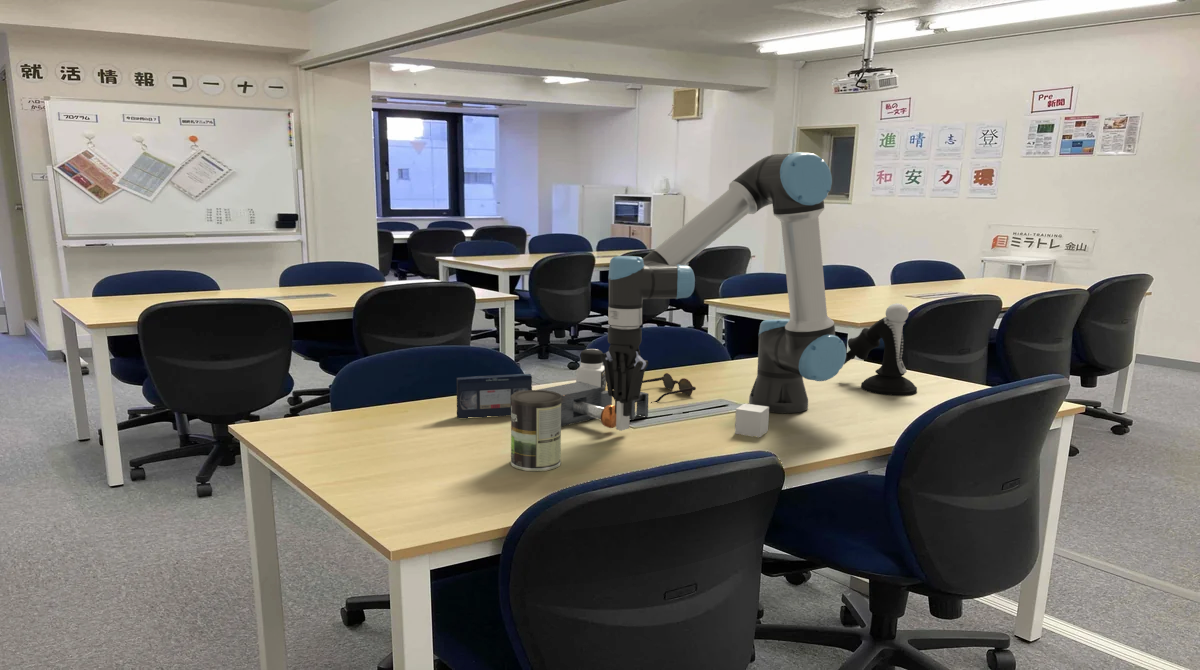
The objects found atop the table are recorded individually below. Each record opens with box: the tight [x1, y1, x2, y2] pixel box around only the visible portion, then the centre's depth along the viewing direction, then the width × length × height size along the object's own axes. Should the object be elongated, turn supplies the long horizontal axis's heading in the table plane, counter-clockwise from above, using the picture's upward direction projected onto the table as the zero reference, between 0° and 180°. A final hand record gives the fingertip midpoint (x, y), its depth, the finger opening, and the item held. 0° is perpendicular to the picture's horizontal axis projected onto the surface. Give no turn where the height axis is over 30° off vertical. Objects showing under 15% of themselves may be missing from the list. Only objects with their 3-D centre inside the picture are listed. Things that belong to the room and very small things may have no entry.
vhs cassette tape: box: [455, 373, 533, 419], centre depth 200 cm, size 18×3×10 cm, turn 105°
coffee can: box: [510, 389, 562, 472], centre depth 165 cm, size 10×10×14 cm
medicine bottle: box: [575, 348, 607, 391], centre depth 224 cm, size 7×7×12 cm
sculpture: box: [844, 303, 918, 397], centre depth 236 cm, size 15×24×25 cm, turn 45°
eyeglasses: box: [642, 372, 697, 404], centre depth 224 cm, size 15×15×5 cm
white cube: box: [734, 403, 770, 438], centre depth 190 cm, size 6×6×6 cm
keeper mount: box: [601, 390, 649, 420], centre depth 204 cm, size 14×6×6 cm, turn 43°
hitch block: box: [537, 381, 602, 427], centre depth 198 cm, size 8×14×8 cm, turn 133°
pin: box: [573, 400, 616, 429], centre depth 192 cm, size 13×5×5 cm, turn 43°
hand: (622, 428), depth 185 cm, fingers closed
